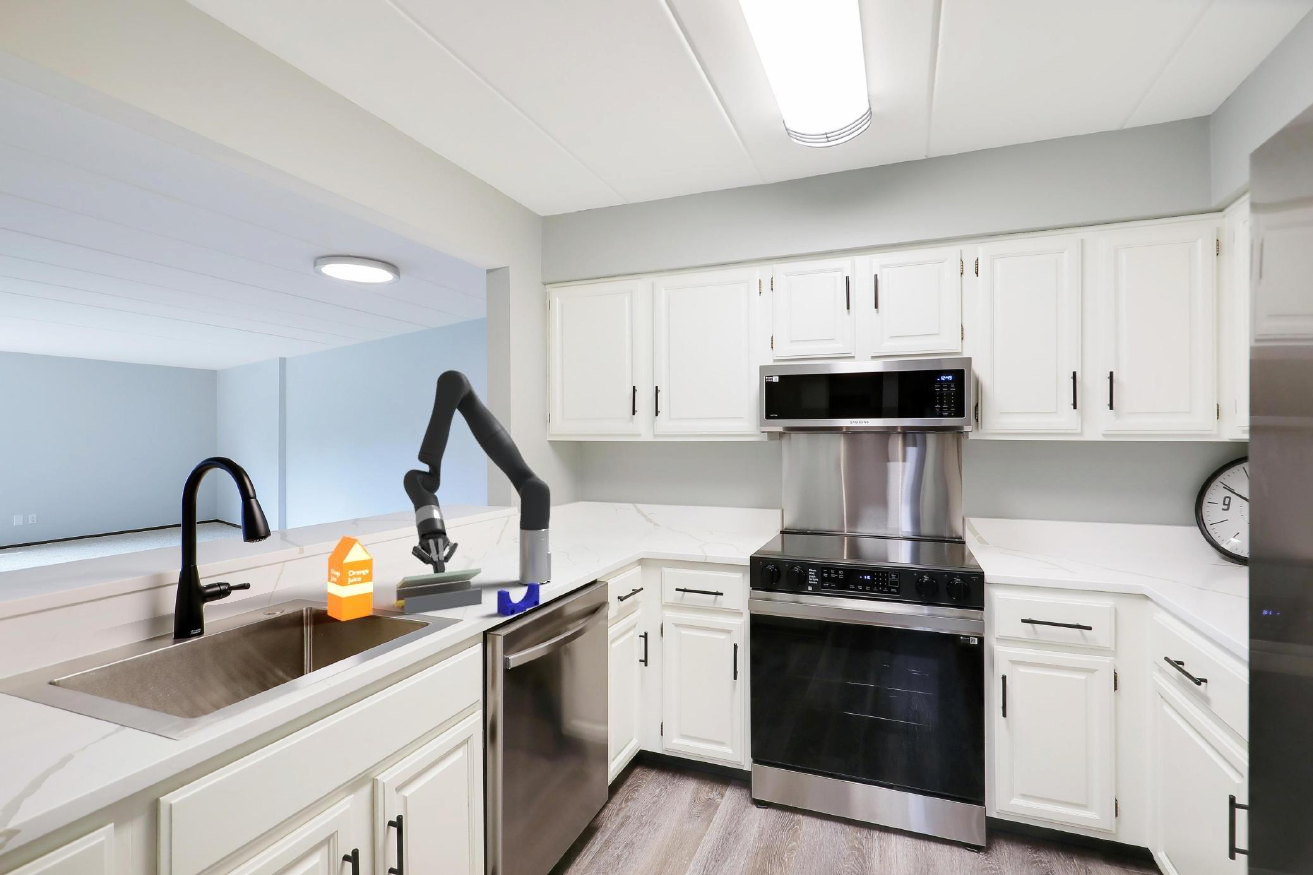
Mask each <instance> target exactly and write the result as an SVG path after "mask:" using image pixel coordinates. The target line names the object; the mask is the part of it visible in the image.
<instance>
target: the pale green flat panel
mask: <svg viewBox="0 0 1313 875" xmlns="http://www.w3.org/2000/svg"><path fill="white" fill-rule="evenodd" d="M481 572H482V568H471V569H462V570H455V571H445V572H444V573H435V574H434V573H429V574H420V575H419V574H418V575H411V576H405V577H403V578H402V579H401V580H400V581H399V582H398V583H397V584H396V587H395V588H396V590H398V589H406V588H414V587H422V586H430V585H439V584H447V583H455V582H463V581H470V580H472V579H473V578H475V577H476V576H477V575H479V574H480V573H481Z"/></svg>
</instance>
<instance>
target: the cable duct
mask: <svg viewBox="0 0 1313 875" xmlns="http://www.w3.org/2000/svg"><path fill="white" fill-rule="evenodd" d="M471 586H472V584H471V581H470V580H467V581H459V582H450V583H442V584H434V585H426V586H418V587H410V588H402V589H396V596H395V597H396V598H395V600H396V601H395V602H394V604H393V605H394V606H395V607H396V608H398V609H400V611H401V612H402V613H403V612H404V613H413V614H420V613H426V612H434V611H440V610H446V609H454V608H460V607H466V606H473V605H481V604H482V603H483V589H482V588H480V587H477V588H471ZM404 613H403V614H404Z"/></svg>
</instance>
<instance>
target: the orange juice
mask: <svg viewBox="0 0 1313 875" xmlns="http://www.w3.org/2000/svg"><path fill="white" fill-rule="evenodd" d="M373 560H374V558H373V557H371V555H370V554H369V552H368V551H367V549H366V548H365V547H364V546H363V544H362V543H361V542H360V540H359V538H355V537H354V538H353V537H350V536H345V535H343V536H342V537H341V539H340V540H339V542H338V543H337V545H336V546H335V547H334V549H333V551H332V552H331V554H330V556H329V557H328V558H327V615H328V616H330V617H332V618H334V619H337V620H339V621H341V622H345V621H348V620H354V619H358V618H362V617H366V616H370V615H369V613H372V614H373V592H374V588H373V587H374V586H373V585H374V583H373V575H374V574H373V567H374V566H373V565H374V564H373V563H374V561H373Z"/></svg>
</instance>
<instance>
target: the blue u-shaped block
mask: <svg viewBox="0 0 1313 875" xmlns="http://www.w3.org/2000/svg"><path fill="white" fill-rule="evenodd" d="M540 586H541V584H536V583H529V584H528V585H527V590H526V592H525V593H524V596H523V597H522V599H520V600H519V601H518V602H513V600H512V598H511V596H510V595H511V594H510V591H507V590H504V589H500V590H497V594H496V595H497V600H496V602H497V606H496V609H497V610H496V613H497V614H500V615H502V616H506V617H510V616H514V615H518V614H521V613H525V612H527V610H528V609H531V608H532V609H533V608H535V607H538V606H540Z"/></svg>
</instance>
